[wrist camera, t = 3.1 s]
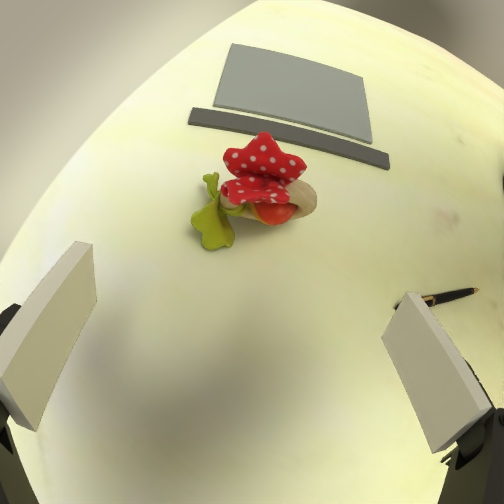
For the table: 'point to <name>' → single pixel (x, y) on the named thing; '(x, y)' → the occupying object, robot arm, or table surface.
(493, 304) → the table surface
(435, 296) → the fountain pen
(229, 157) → the bird rattle
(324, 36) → the table surface
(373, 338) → the table surface
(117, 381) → the table surface
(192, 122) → the mat
